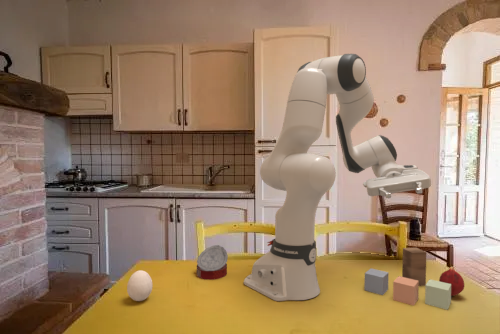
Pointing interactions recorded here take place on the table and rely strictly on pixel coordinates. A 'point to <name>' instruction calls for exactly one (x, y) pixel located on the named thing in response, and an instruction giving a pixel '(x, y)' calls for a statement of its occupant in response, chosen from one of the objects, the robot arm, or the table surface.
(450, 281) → the pomegranate
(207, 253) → the canned food
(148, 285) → the egg
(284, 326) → the table surface
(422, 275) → the block walnut
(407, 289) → the cube terracotta
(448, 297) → the cube sage
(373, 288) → the cube slate
